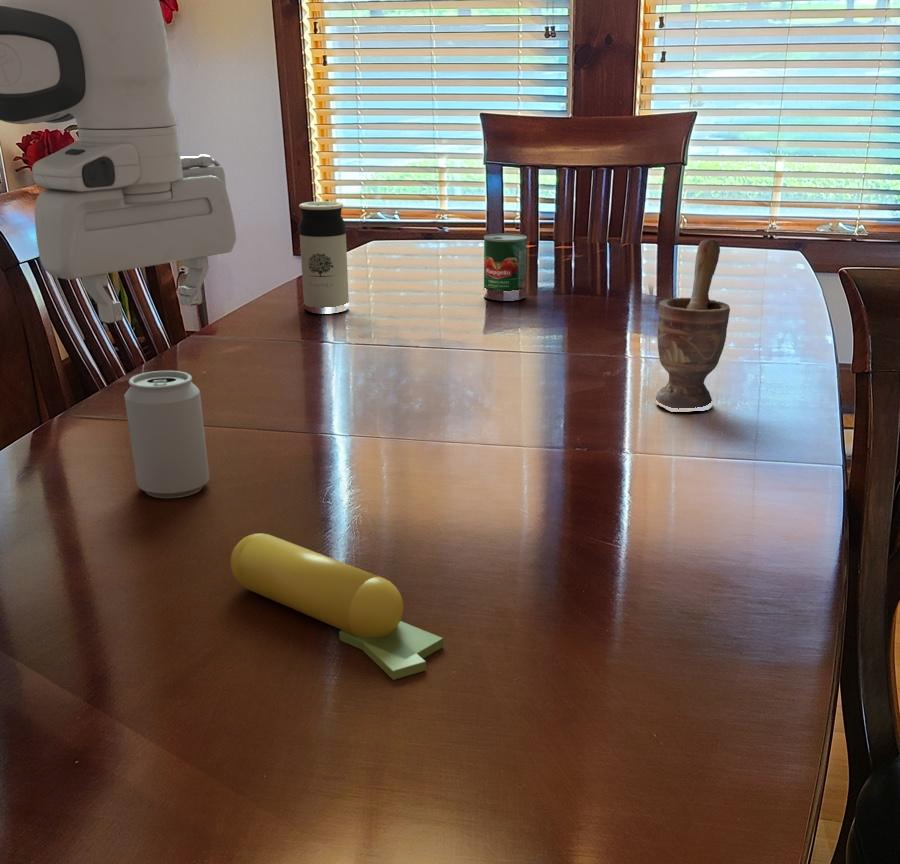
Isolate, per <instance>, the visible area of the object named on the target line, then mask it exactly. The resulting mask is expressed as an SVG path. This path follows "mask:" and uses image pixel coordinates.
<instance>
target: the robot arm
mask: <svg viewBox="0 0 900 864" xmlns="http://www.w3.org/2000/svg"><path fill="white" fill-rule="evenodd" d="M171 79H172V68H171V59H170V52H169V44H168V39H167V32H166V26H165V21H164V16H163V11H162V7H161V4H160V0H0V121H1V122H3V123H8V124H13V125H29V124H41V123H49V124H58V123H60V124H61V123H64V122H65V123H66V122H68V121H72V120H74V119H75V122H76V127H77V134H78V140H76V141H73V142H72V143H71V144H68V145H67V146H65V147H63V148H61V149H59V150H58V151H56V152H54V153H51V154H49V155H47V156H45V157H43V158H41V159H39V160H37V161H35V162H34V163H33V164H32V167H31V172H32V178H33V181H34V183H35V185H36V186H37V187H39V188H42V189H43V188H44V190H41V192H40V193H39V194H38V196H37V198H36V200H35V204H34V225H35V236H36V244H37V251H38V256H39V261H40V264H41V266H42V268H43V269H44V270H45V271H46V272H47V273H48V274H49V275H50V276H51V277H54V278H58V279H61V280H62V279H63V280H69V281H70V280H71V281H72V280H76V279H81V282H82V283H81V284H82V286H83V289H85V290H86V292H87V293H88V294H89V296H90V297H91V299H93V301H94V302H95V303H96V305H97V306H96V307H97V312H98V317H99V320H100V321H101V323H105V324H111V323H116V322H120V321H123V319H124V314H123V313H122V310H123V307H122V302H121V301H117V300H114V299H113V300H112V298H111V297H110V295H109V293H108V292H107V291H106V289H105V288H104V287H107V286H108V285H109V281H108V274H112V273H118V272H123V271H129V270H134V269H142V268H146V267H153V266H159V265H163V264H165V265H166V264H170V263H176V262H183V266H184V267H185V268H188V270H187V274H186V278H185V282H184V285H180V286H178V287H177V289H178V295H179V303H180V304H181V305H182V306H187V307H193V306H197V305H201V304H203V294H202V287H203V284H204V281H205V278H206V275H207V273H208V270H209V260H208V257H210V256H211V257H212V256H217V255H223V254H228V253H231V252H232V251H233V249H234V247H235V246H236V245H235V244H236V242H237V233H236V227H235V219H234V215H233V210H232V206H231V201H230V198H229V193H228V191H227V183H226V175H225V171H224V168H223V167H222V166H221V164H220V163H219V162H218V161H217V160H216V159H214V158H212V157H211V155H209V154H198V155H196V156H195V155H194V156H188V155H187V156H186V155H185V156H182V153H181V146H180V137H179V128H178V121H177V117H176V115H175V112H174V109H173V106H172V102H171V97H170V96H171V95H170V83H171ZM212 164H213V165H212Z"/></svg>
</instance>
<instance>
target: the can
mask: <svg viewBox="0 0 900 864" xmlns="http://www.w3.org/2000/svg"><path fill="white" fill-rule="evenodd" d="M192 380H193V377H192V375H191V374H190V373H188V372H184V371H179V370H155V371H148V372H147V371H146V372H143V373H138V374H136V375H134V376H131V378H129V380H128V384H129V385H130V387H129V388H128V389H127V391H126V392H125V393H124V395H123V396H124V405H125V411H126V417H127V425H128V433H129V439H130V445H131V454H132V459H133V468H134V474H135V480H136V481H135V482H136V486H137V488H138V489H140V490H142V491H143V492H145V493H146V494H147V495H148V496H150V497H153V498H157V499H178V498H184V497H189V496H191V495H194V494H197V493H199V492H200V491H201V490H202V489H203V488H204V486H205V485H206V484H207V483H208V482H209V481H210V470H209V462H208V461H209V460H208V453H207V452H208V451H207V445H206V434H205V425H204V416H203V407H202V398H201V390H200V389H199V387H197V385H196V384H194V383H193V382H192Z"/></svg>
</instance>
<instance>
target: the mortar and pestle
mask: <svg viewBox="0 0 900 864" xmlns="http://www.w3.org/2000/svg"><path fill="white" fill-rule="evenodd" d="M720 252H721V245H720V243H719V242H718V241H717V240H716V239H710V238H706V239H703V240H701V241H700V243H699V244H698V246H697V250H696V255H695V262H694V275H693V276H694V277H693V278H694V279H693V285H692V292H691V296H690V297H675V298H666V299H662V300H660V301H659V305H658V324H657V336H656V337H657V351H658V359H659V362H660V365H661V366H662V367H663V368H664V370H665V371H666V372H667V373H668V382H667V383H666V385H665V386H664V387H661V388H660V389H659V390H658V392H657V393H656V396H655V399H656V400H657V401H658V402H659V403H661V404H663V405H665V406H668V407H671V408H678V409H679V408H695V407H696V408H697V407H703V406H706V405H708V404H709V403H711V401H713V399H712V395H711V393H710V391H709V389H708V388H707V386H706V385H705V380H706V378H707V377H708V375H709V374H711V372H713V371H714V370H715V369H716V368H717V366H718V364H719V361H720V359H721V356H722V354H723V350H724V348H725V343H726V340H727V330H728V325H729V318H730V313H731V307H730V305H729V304H728V303H726V302H723V301H717V300H716V299H710V298H709V297H710V296H709V293H710V289H711V285H712V280H713V276H714V275H715V272H716V269H717V267H718V262H719V258H720Z"/></svg>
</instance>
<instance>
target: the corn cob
mask: <svg viewBox="0 0 900 864" xmlns="http://www.w3.org/2000/svg"><path fill="white" fill-rule="evenodd" d="M230 571H231V573H232V575H233V578H234V579H235V581H236V582H237V583H238V584H239V585H240V586H242V587H243V588H245V589H246V590H248V591H250V592H253V593H255V594H257V595H260V596H261V597H264V598H267V599H269V600H271V601H274V602H276V603H278V604H281V605H283V606H286V607H287V608H290V609H292V610H295V611H297V612H299V613H302V614H304V615H306V616H309V617H311V618H313V619H315V620H318V621H320V622H322V623H325V624H327V625H330V626H331V627H334V628H336V629H338V630H339V631H338V637H339V641H341V642H343V643H345V644H347V645H350V646H352V647H354V648H357V649H358V650H361V651H363V653H365V654H366V655H367V656H368V657H369V658H370V659H371V661H373V662H374V663H375V664H376V665H377V666H378V667H379V668H380V669H381V670H382V671H383V672H384V673H385V674H386V675H387V676H388V677H389V678H390V679H391V680H393V681H395V680H399V679H402V678H405V677H408V676H411V675H412V676H413V675H415V674H417V673H418V674H419V673H423V672H426V671H427V662H426V660H425V659H426V658H427V657H429V656H430V655H432V654H433V653H435V652H437V651H439V650H441V649H442V648H444V638H443V637H441V636H439V635H436V634H434V633H431V632H429V631H426V630H424V629H421V628H419V627H416V626H413V625H412V624H409V623H407V622H404V621H402V618H403V616H404V615H403V614H404V600H403V597H402V594H401V592H400V591H399V589H398V588H397V586H396V585H395V584H393V582H391V581H390V580H388V579H386V578H385V577H382V576H379V575H376V574H375V573H372V572H369V571H366V570H364V569H360V568H358V567H356V566H353V565H350V564H348V563H345V562H343V561H341V560H337V559H334V558H332V557H330V556H327V555H324V554H323V553H319V552H316V551H313V550H311V549H309V548H305V547H304V546H301V545H298V544H295V543H293V542H290V541H287V540H285V539H282V538H279V537H276V536H274V535H272V534H268V533H264V532H263V533H261V532H260V533H251V534H249V535H247V536H245V537H243V538H242V539H240V541H238V542H237V543H236V545H235V546H234V547H233V549H232V552H231V555H230Z"/></svg>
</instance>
